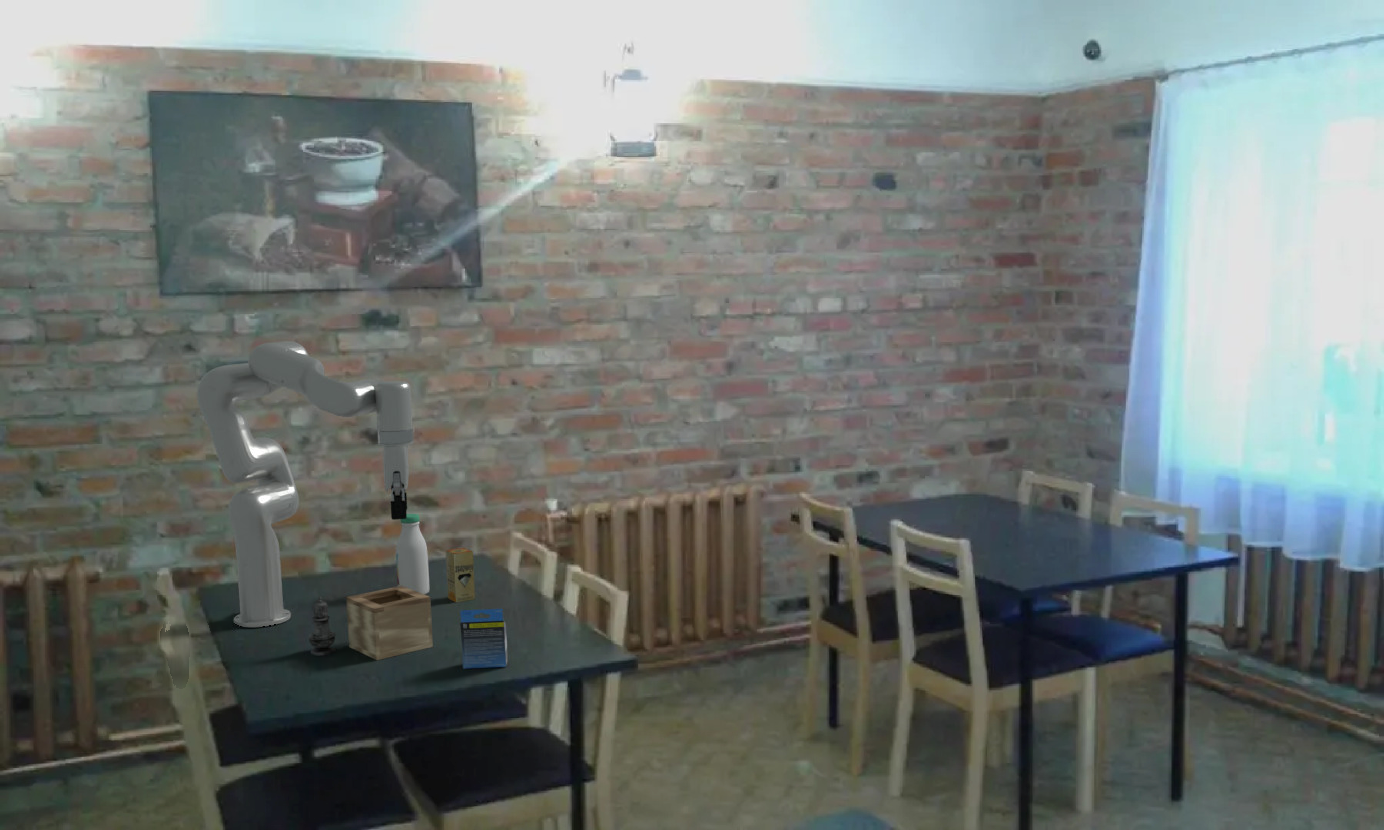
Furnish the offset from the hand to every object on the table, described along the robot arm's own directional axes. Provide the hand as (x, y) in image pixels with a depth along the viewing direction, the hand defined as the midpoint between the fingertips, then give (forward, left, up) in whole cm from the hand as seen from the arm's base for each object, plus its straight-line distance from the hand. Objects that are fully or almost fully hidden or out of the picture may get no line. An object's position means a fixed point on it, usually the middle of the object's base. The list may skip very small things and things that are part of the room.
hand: (399, 514), depth 273 cm
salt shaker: (-1, -19, -27) cm, 33 cm away
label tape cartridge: (+32, +1, -27) cm, 42 cm away
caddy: (+6, -7, -27) cm, 29 cm away
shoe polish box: (-17, +24, -27) cm, 40 cm away
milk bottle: (-30, +18, -27) cm, 44 cm away
